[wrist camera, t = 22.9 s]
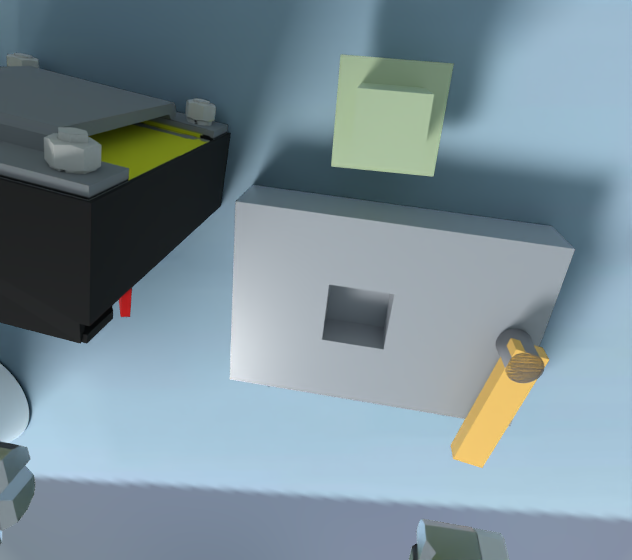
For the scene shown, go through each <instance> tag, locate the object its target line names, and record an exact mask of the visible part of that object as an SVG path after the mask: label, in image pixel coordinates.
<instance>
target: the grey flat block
mask: <svg viewBox="0 0 632 560" xmlns="http://www.w3.org/2000/svg"><path fill="white" fill-rule="evenodd" d="M574 251H575V248H574V247H573V246H572V245H571V244H570V243H569V242H568V241H567V240H566V239H565V238H564V237H563V236H562V235H561V234H560V233H559V232H558V231H557V230H556V229H555V228H554V227H553V226H548V225H541V224H534V223H527V222H519V221H512V220H505V219H497V218H490V217H483V216H476V215H468V214H461V213H454V212H447V211H439V210H432V209H425V208H418V207H410V206H403V205H396V204H388V203H381V202H374V201H367V200H359V199H352V198H345V197H338V196H330V195H323V194H316V193H309V192H301V191H294V190H287V189H279V188H272V187H265V186H258V185H252V186H251V187H250V188H249V189H248V190H247V191H246V192H245V193H244V194H243V195H242V196H241V197H240V198H239V199H237V200H236V203H235V234H234V265H233V296H232V327H231V358H230V379H231V380H237V381H242V382H248V383H254V384H260V385H266V386H272V387H278V388H284V389H290V390H296V391H302V392H308V393H314V394H320V395H326V396H332V397H338V398H344V399H350V400H356V401H362V402H368V403H374V404H380V405H386V406H392V407H398V408H404V409H410V410H416V411H422V412H428V413H434V414H440V415H446V416H452V417H458V418H464V419H466V417H467V415H468V413H469V412H470V410H471V408H472V406H473V404H474V403H475V401H476V399H477V397H478V396H479V394H480V392H481V390H482V388H483V387H484V385H485V383H486V381H487V380H488V378H489V376H490V374H491V372H492V371H493V369H494V367H495V365H496V364H497V362H498V360H499V358H500V357H499V354H498V351H497V349H496V340H497V338H498V336H499V335H500V334H501V333H503V332H504V331H506V330H509V329H521V330H524V331H526V332H527V333H528V334H529V335H530V337H531V339H532V341H533V343H534V345H535V346H540V343H541V341H542V338H543V335H544V333H545V330H546V327H547V324H548V322H549V319H550V316H551V313H552V311H553V308H554V305H555V303H556V300H557V297H558V294H559V292H560V289H561V286H562V283H563V281H564V278H565V275H566V273H567V270H568V267H569V264H570V262H571V259H572V256H573V254H574ZM512 420H513V419H512ZM511 422H512V421H511ZM511 422H510V424H509V425H508V426H510V425H511Z"/></svg>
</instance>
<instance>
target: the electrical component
mask: <svg viewBox="0 0 632 560" xmlns="http://www.w3.org/2000/svg"><path fill="white" fill-rule="evenodd" d="M215 112H216V106H215V105H214V104H212V103H210V101H207V100H204V99H199V98H195V99H190V100H186V110H185V114H183V113H179V112H176V106H175V103H174V102H170V101H166V100H162V99H158V98H154V97H150V96H146V95H142V94H138V93H134V92H130V91H127V90H123V89H119V88H115V87H111V86H107V85H103V84H99V83H95V82H91V81H87V80H83V79H79V78H75V77H72V76H68V75H64V74H60V73H56V72H52V71H48V70H44V69H40V68H39V60H38V59H37V58H33V56H31V55H27V54H22V53H14V54H7V67H0V323H4V324H8V325H12V326H16V327H19V328H23V329H27V330H31V331H35V332H39V333H42V334H46V335H50V336H54V337H58V338H62V339H65V340H69V341H73V342H77V343H81V342H84V343H88V342H89V341H90V340H91V339H92V338H93V337H94V336H95V335H96V334H97V333H98V332H99V331H100V330H101V329H102V328H103V327H105V326H106V325H107V324H108V323H109V322H110V321H111V320H112V319H113V309H112V305H113V304H114V303H115V302H116V301H118V300H119V305H120V315H121V317H130V309H131V293H132V287H133V286H134V285H135V284H136V283H137V282H138V281H139V280H140V279H142V278H143V277H144V276H145V275H146V274H147V273H148V272H149V271H150V270H151V269H152V268H154V267H155V266H156V265H157V264H158V263H159V262H160V261H161V260H162V259H163V258H164V257H166V256H167V255H168V254H169V253H170V252H171V251H172V250H173V249H174V248H175V247H176V246H178V245H179V244H180V243H181V242H182V241H183V240H184V239H185V238H186V237H187V236H188V235H190V234H191V233H192V232H193V231H194V230H195V229H196V228H197V227H198V226H199V225H200V224H202V223H203V222H204V221H205V220H206V219H207V218H208V217H209V216H210V215H211V214H212V213H214V212H215V211H216V210H217V209H218V208H219V207H220V206H221V199H222V192H223V185H224V178H225V171H226V164H227V157H228V149H229V142H230V135H231V133H228V132H227V129H228V125H226V124H222V123H218V122H214V120H215Z"/></svg>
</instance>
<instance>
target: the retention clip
mask: <svg viewBox="0 0 632 560" xmlns="http://www.w3.org/2000/svg"><path fill="white" fill-rule="evenodd" d="M496 349H497V351H498V354H499V357H500V358H499V360H498V362H497V364H496V365H495V367H494V369H493V371H492V372H491V374H490V376H489V378H488V380H487V381H486V383H485V385H484V387H483V388H482V390H481V392H480V394H479V396H478V397H477V399H476V401H475V403H474V404H473V406H472V408H471V410H470V412H469V413H468V415H467V417H466V419H465V420H464V422H463V424H462V426H461V428H460V429H459V431H458V433H457V435H456V437H455V438H454V440H453V442H452V444H451V449H452V455H453V459H455V460H459V461H462V462H465V463H468V464H471V465H474V466H478V467H481V468H482V467H483V466H484V464H485V462H486V461H487V459H488V458H489V456H490V454H491V453H492V451H493V450H494V448H495V446H496V445H497V443H498V442H499V440H500V438H501V437H502V435H503V433H504V432H505V430H506V429H507V427H508V425H509V424H510V422H511V421H512V419H513V417H514V416H515V414H516V413H517V411H518V409H519V408H520V406H521V405H522V403H523V401H524V400H525V398H526V396H527V395H528V393H529V392H530V390H531V388H532V387H533V385H534V384H535V382H536V380H537V379H538V378H539V377H540V376H541V375H542V373H543V371H544V367H545V366H546V364H547V363H548V361H549V358H548V356H547V355H546V353H545V351H544V349H543V348H542V347H539V346H535V345H534V343H533V341H532V339H531V337H530V335H529V334H528V333H527V332H526V331H524V330H521V329H509V330H506V331H504V332H503V333H501V334H500V335H499V336H498V338H497V340H496Z"/></svg>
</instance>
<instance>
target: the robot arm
mask: <svg viewBox="0 0 632 560" xmlns="http://www.w3.org/2000/svg"><path fill="white" fill-rule="evenodd" d="M28 421H29V407H28V403H27V399H26V397H25V394H24V392H23V390H22V388H21V387H20V385H19V384H18V382H17V381H16V379H15V378H14V377H13V376H12V374H11V373H10V372H9V371H8V370H7V369H6V368H5V367H4V366H3V365H2V364H1V363H0V544H1V543H2V531H3V530H5V529H7V528H9V527H10V526H12V525H14V524H16V523H18V521H19V520H20V519H21V517H22V516H23V515H24V513H25V512H26V510H27V509H28V507H29V505H30V503H31V500H32V498H33V496H34V491H35V479H34V475H33V473H32V472H31V471H30V470H29V469H28V468H27V467H26V466H25V465H26V464H27V463H28V461H29V460H30V456H29V452H28V448H27V447H24V446H19V445H15V444H10V442H12V441H13V440H15V439H17V438H18V437H19V436H20V435H21V434H22V433H23V432H24V431H25V429H26V427H27V425H28ZM409 560H509V556H508V552H507V548H506V544H505V540H504V538H503V536H502V535H501V533H497V532H491V531H486V530H480V529H475V528H472V527H467V526H461V525H455V524H449V523H444V522H438V521H431V520H426V519H421V521H420V522H419V525H418V528H417V544H415V545H414V546H412V549H411V553H410V557H409Z"/></svg>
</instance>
